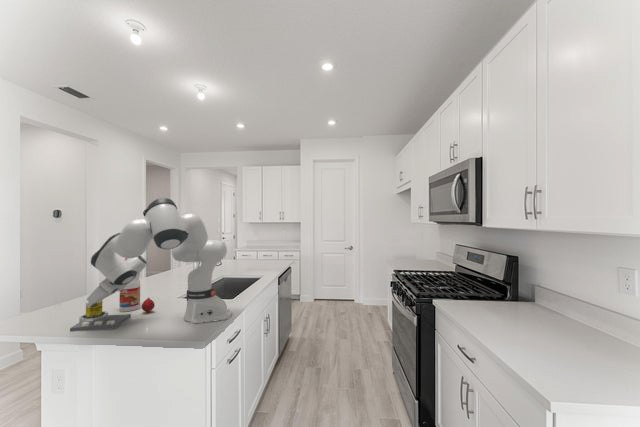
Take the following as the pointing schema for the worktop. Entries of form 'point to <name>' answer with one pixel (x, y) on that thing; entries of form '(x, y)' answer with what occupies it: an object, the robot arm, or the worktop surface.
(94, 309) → the pill bottle
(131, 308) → the fruit juice
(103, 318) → the lockout collar
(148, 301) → the strawberry
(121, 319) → the plate
